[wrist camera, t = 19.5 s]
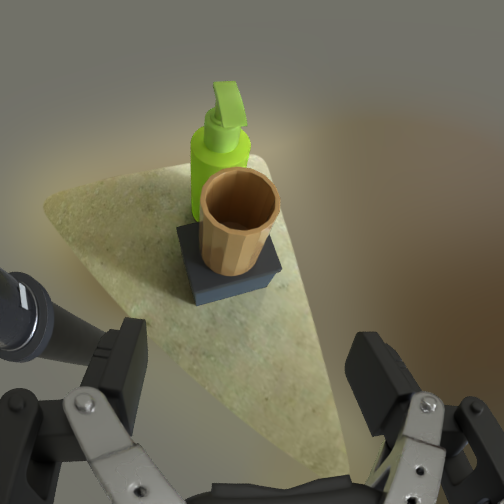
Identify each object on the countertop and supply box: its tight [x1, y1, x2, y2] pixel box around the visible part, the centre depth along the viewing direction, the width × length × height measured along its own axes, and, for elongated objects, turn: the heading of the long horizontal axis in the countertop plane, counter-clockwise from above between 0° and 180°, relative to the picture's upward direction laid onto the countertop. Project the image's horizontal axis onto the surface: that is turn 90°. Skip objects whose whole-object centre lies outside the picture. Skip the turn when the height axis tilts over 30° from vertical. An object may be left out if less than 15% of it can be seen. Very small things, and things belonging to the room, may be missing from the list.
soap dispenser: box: [191, 81, 251, 222], centre depth 33 cm, size 6×7×20 cm
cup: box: [199, 166, 280, 276], centre depth 28 cm, size 6×6×10 cm
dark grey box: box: [176, 222, 282, 306], centre depth 36 cm, size 9×7×7 cm
